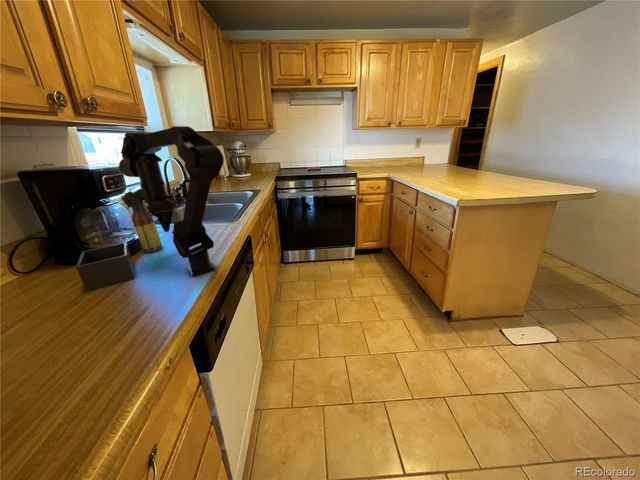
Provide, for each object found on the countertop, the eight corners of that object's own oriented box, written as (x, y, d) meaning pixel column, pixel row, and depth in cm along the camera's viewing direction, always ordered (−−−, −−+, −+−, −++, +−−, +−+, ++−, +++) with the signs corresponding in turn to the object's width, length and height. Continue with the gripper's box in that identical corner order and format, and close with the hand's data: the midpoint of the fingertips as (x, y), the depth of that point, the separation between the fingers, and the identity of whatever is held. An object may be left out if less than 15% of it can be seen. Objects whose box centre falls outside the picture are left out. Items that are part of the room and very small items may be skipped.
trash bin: (134, 278, 79) (126, 255, 76) (86, 291, 73) (75, 267, 70) (133, 262, 89) (126, 242, 86) (90, 273, 83) (81, 251, 80)
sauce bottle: (164, 245, 102) (149, 194, 95) (160, 251, 97) (145, 198, 89) (145, 248, 100) (128, 196, 93) (140, 254, 95) (122, 200, 87)
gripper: (118, 178, 81) (133, 226, 87) (117, 185, 66) (136, 243, 72) (159, 173, 87) (171, 219, 92) (166, 180, 72) (180, 233, 78)
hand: (164, 227), depth 84 cm, fingers open, 9 cm apart
